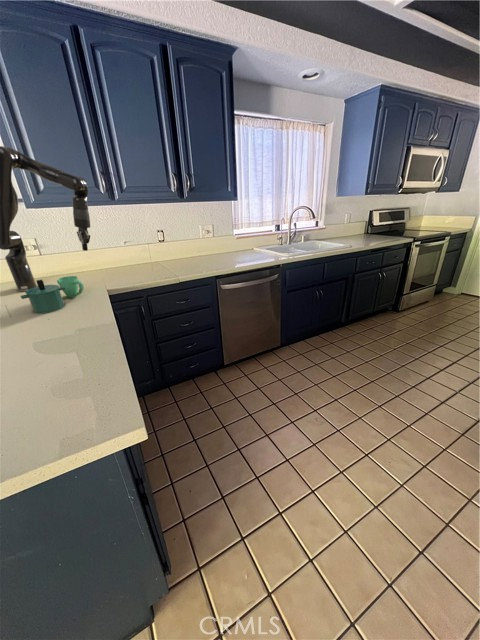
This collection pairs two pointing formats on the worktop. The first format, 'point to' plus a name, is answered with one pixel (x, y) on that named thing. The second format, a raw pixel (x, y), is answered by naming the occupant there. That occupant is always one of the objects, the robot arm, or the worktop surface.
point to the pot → (46, 301)
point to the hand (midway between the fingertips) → (85, 250)
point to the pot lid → (42, 289)
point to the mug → (71, 285)
